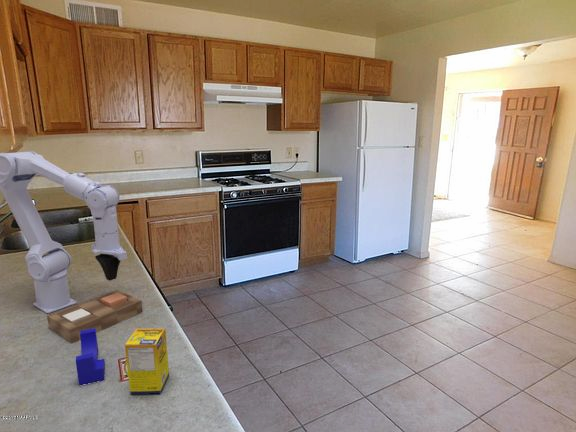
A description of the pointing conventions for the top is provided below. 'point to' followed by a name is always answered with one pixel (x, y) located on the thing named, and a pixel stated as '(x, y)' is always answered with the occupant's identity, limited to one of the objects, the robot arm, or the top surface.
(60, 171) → the robot arm
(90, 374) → the blue notched block
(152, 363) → the supplement box
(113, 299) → the terracotta button
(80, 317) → the white block
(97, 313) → the brown block tray
